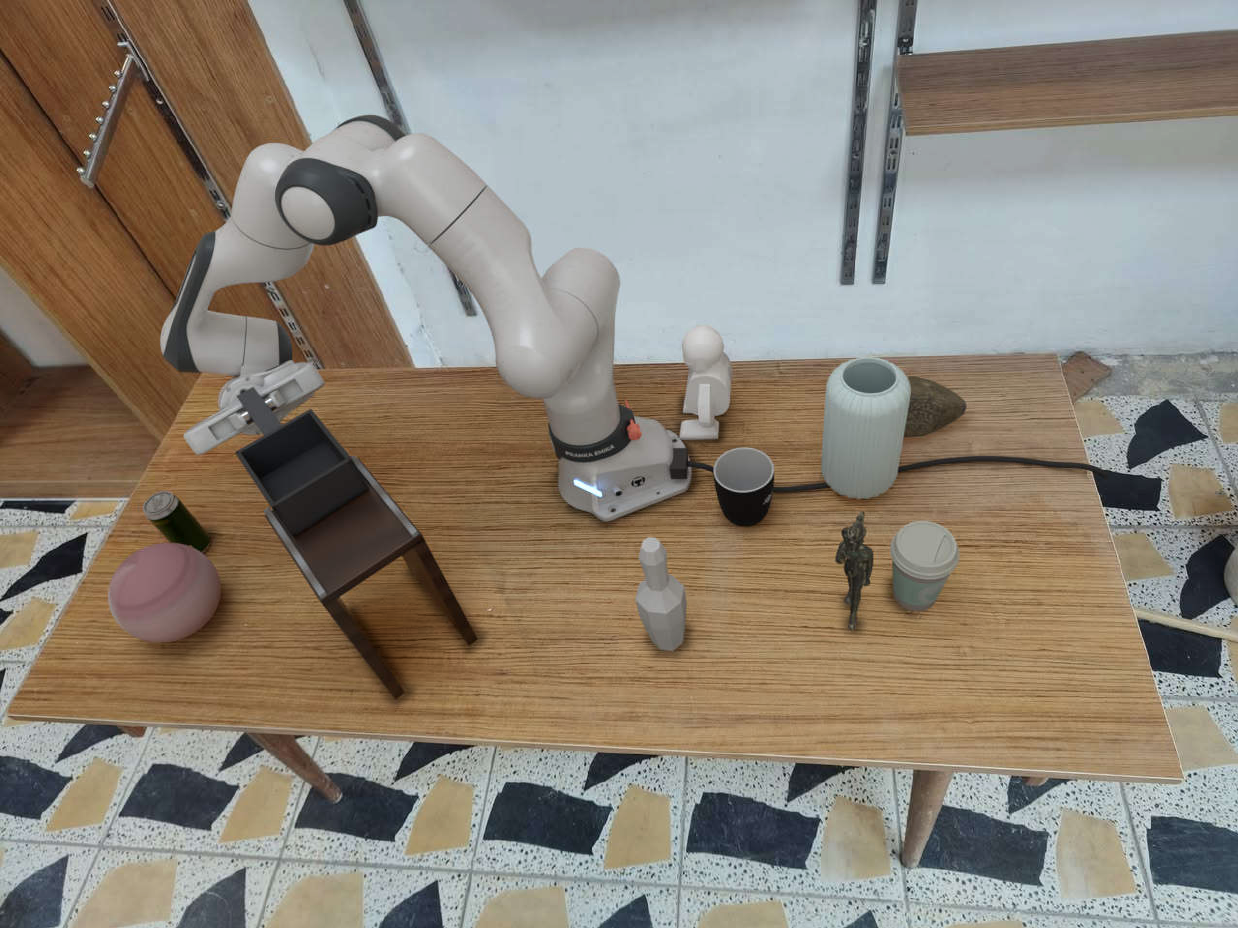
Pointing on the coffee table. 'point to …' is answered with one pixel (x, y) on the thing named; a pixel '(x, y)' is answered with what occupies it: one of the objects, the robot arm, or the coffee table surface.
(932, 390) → the stone
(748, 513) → the mug
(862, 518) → the statue
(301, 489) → the basket
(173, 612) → the pink rounded ball
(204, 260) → the robot arm
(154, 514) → the beer can
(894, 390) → the vase
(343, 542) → the stand
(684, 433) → the toy robot
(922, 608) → the coffee cup
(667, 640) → the faceted bottle
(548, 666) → the coffee table surface
